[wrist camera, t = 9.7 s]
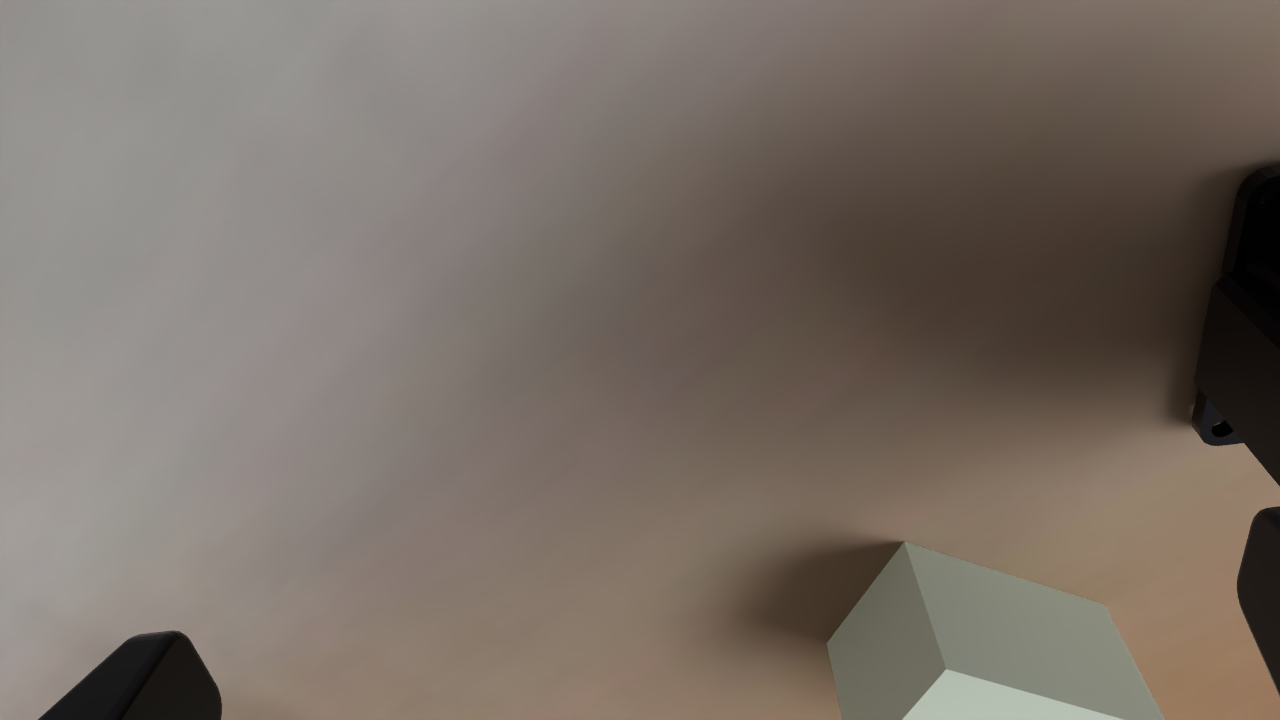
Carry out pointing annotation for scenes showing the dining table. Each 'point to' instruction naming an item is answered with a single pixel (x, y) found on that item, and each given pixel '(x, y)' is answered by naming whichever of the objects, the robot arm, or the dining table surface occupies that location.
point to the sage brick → (980, 649)
